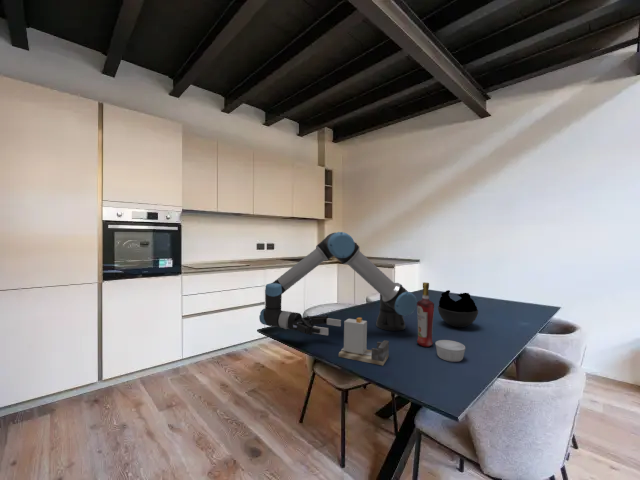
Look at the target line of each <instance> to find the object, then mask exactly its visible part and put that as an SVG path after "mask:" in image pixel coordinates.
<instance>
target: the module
mask: <svg viewBox="0 0 640 480" xmlns="http://www.w3.org/2000/svg"><path fill="white" fill-rule="evenodd" d="M343 324H344V327H343V348H344V351H347V352H352V353H357V354H362V355H363V354H364V353H365V351H366V350H368V349H367V346H368V344H367V341H368V340H367V339H368V338H367V337H368V336H367V335H368V321H367V320H363V317H356V319H354V318H347V319H346V320H344V322H343Z"/></svg>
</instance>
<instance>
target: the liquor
mask: <svg viewBox="0 0 640 480" xmlns="http://www.w3.org/2000/svg"><path fill="white" fill-rule="evenodd" d="M429 289H430V283H429V282H422V296H421V297H422V298H421V299H420V300H417V307H416V309H417V310H416V312H417V313H416V315H417V317H416V318H417V340H416V343H418V345H419V346H421V347H424V348H429V347H431V346H432V345H433V344H434V343H433V329H434V328H433V327H434V325H433V324H434V315H435V314H434V312H435V303H434V302H433V301H431V300H430V294H429V292H430V291H429Z"/></svg>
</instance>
